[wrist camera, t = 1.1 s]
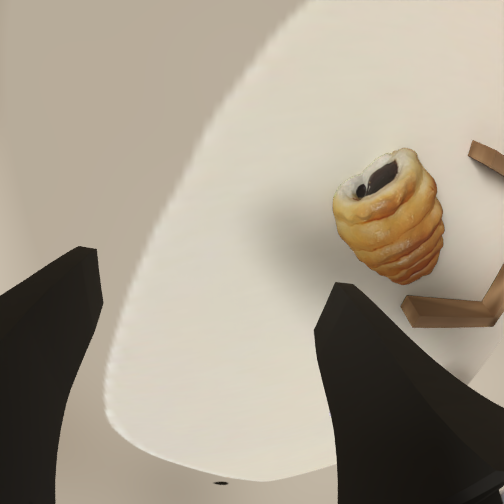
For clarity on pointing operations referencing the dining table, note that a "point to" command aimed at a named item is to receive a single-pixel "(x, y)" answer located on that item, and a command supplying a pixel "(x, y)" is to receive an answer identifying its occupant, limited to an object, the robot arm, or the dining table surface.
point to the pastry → (392, 217)
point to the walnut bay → (462, 311)
